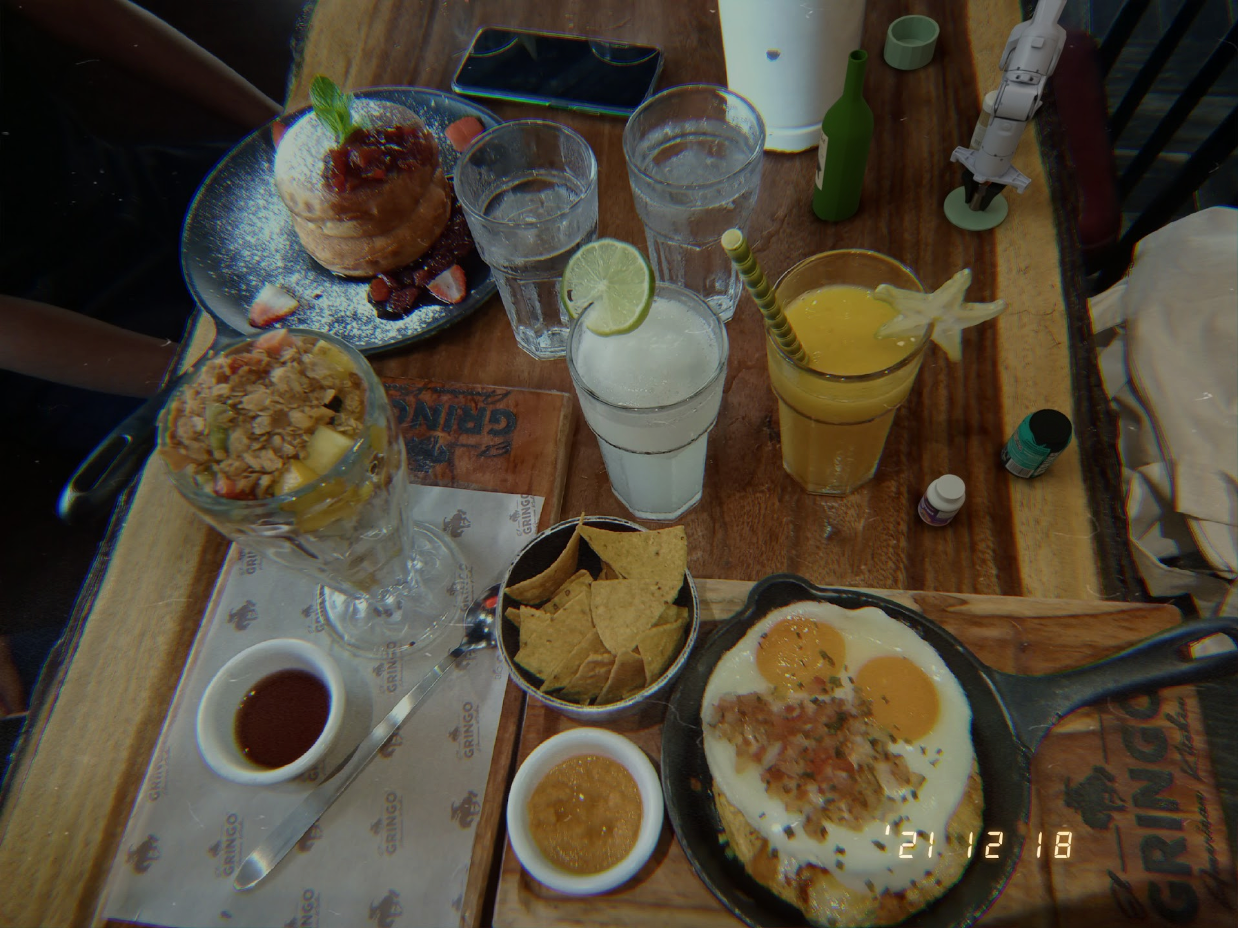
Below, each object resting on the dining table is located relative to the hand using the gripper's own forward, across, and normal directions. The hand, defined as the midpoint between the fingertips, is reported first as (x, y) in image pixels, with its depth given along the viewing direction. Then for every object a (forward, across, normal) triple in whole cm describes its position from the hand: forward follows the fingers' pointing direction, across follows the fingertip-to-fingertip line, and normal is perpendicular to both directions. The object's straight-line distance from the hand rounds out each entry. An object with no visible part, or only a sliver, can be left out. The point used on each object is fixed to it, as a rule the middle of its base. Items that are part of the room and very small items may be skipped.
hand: (976, 204), depth 139 cm
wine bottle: (+2, -22, -14) cm, 26 cm away
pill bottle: (+2, +30, -56) cm, 64 cm away
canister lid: (+1, 0, 0) cm, 1 cm away
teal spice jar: (+2, +36, -40) cm, 54 cm away
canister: (+2, -36, +30) cm, 48 cm away
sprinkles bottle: (+2, -8, +12) cm, 15 cm away
